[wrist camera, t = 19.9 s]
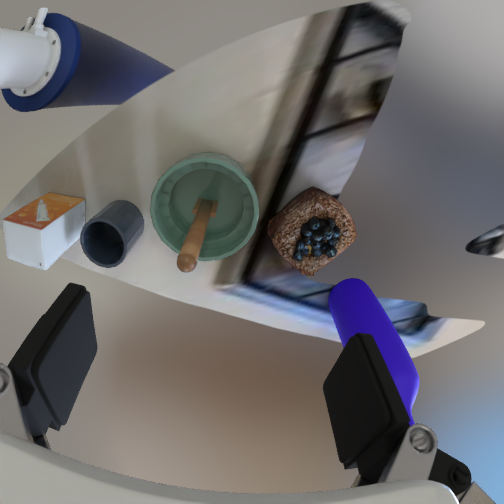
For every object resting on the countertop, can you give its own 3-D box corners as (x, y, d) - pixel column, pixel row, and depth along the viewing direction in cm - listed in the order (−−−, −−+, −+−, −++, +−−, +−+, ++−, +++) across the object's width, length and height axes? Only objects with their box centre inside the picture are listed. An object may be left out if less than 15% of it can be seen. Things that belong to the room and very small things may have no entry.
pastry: (257, 229, 45) (259, 246, 40) (317, 175, 41) (327, 185, 36) (303, 273, 49) (310, 293, 43) (359, 225, 45) (373, 241, 40)
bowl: (168, 144, 39) (157, 149, 34) (266, 162, 40) (270, 170, 35) (156, 234, 45) (146, 250, 40) (245, 251, 47) (245, 269, 42)
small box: (86, 198, 41) (42, 229, 30) (85, 233, 44) (46, 272, 33) (48, 191, 40) (1, 219, 29) (49, 225, 43) (6, 259, 31)
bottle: (322, 284, 50) (380, 440, 23) (367, 270, 49) (450, 410, 22) (330, 318, 53) (377, 463, 27) (371, 305, 52) (437, 439, 26)
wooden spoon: (198, 194, 42) (169, 255, 25) (219, 197, 42) (203, 261, 25) (196, 205, 42) (167, 272, 25) (217, 209, 43) (200, 279, 26)
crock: (103, 196, 42) (79, 214, 34) (146, 203, 42) (128, 223, 35) (102, 239, 45) (81, 262, 38) (142, 247, 46) (126, 272, 39)
